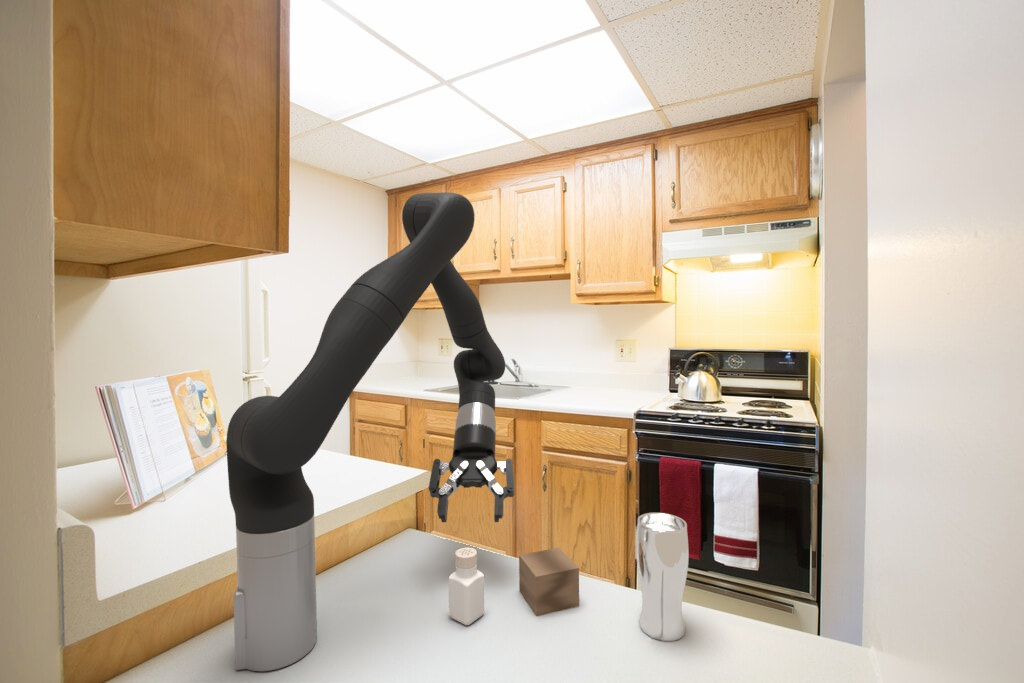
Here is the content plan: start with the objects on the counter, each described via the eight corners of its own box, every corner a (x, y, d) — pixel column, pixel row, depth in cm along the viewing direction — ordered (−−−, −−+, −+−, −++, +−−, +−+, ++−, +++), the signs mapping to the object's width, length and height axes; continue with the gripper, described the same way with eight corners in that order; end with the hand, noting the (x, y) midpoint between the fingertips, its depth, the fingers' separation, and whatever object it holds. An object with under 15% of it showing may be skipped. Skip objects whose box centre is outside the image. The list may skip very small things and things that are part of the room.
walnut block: (536, 617, 69) (535, 576, 69) (519, 591, 76) (519, 555, 76) (579, 607, 72) (578, 568, 71) (559, 583, 78) (558, 547, 78)
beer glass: (681, 613, 69) (681, 512, 69) (694, 645, 62) (695, 533, 62) (632, 611, 70) (632, 511, 70) (640, 642, 63) (640, 531, 63)
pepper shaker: (467, 628, 66) (466, 561, 66) (447, 618, 69) (446, 553, 69) (486, 614, 70) (485, 550, 69) (466, 605, 72) (465, 543, 72)
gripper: (433, 422, 84) (422, 511, 73) (513, 421, 84) (514, 510, 73) (439, 444, 90) (429, 530, 79) (514, 443, 90) (514, 529, 79)
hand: (470, 520), depth 76 cm, fingers open, 8 cm apart
